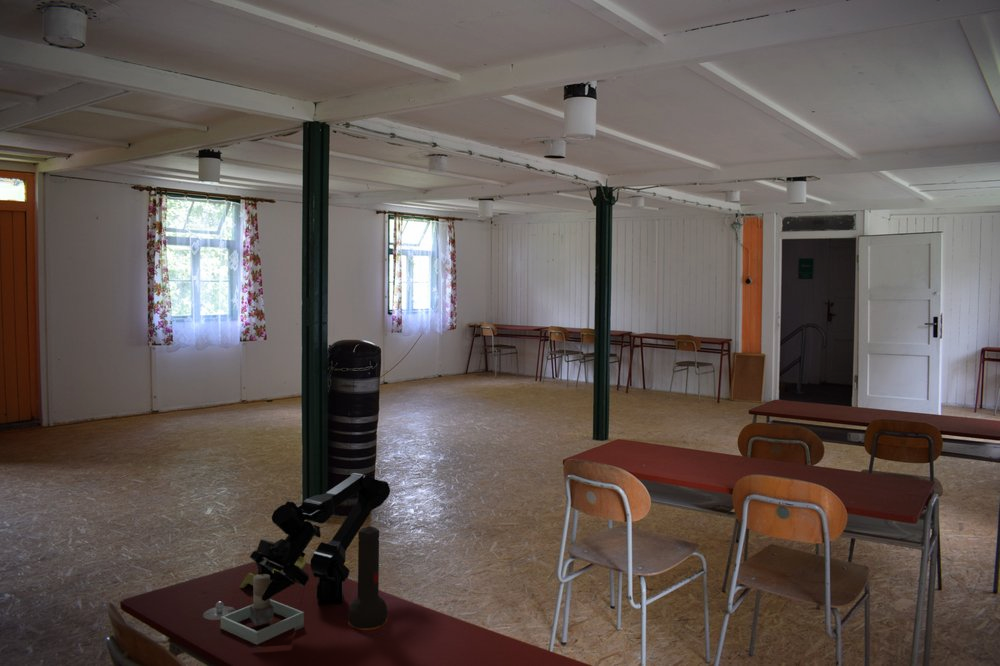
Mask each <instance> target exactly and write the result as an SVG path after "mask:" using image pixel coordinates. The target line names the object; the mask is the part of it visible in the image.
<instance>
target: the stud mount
mask: <svg viewBox="0 0 1000 666" xmlns="http://www.w3.org/2000/svg"><path fill="white" fill-rule="evenodd" d="M235 611H237V610H236V608H234V607H233V606H226V605H224V602H223V601H221V600H220V601H217V602H216V603H215V607H211V608H209V609H207V610H205V611H204V612H203V614H202V617H203V618H205V619H206V620H210V621H218V620H220V621H221V617H222V616H224V615H227V614H229V613H232V612H235Z"/></svg>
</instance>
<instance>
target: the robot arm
mask: <svg viewBox="0 0 1000 666" xmlns="http://www.w3.org/2000/svg"><path fill="white" fill-rule="evenodd" d="M390 492H391V488H390V485H389V482H387V481H385V480H380V479H376V478H374V477H372V476H370V475H368V474H367V473H360V472H353V473H351V474H350V476H349V477H347V478H345V480H343V481H342V482H339V484H337V485H336V486H333V488H331V489H329V490H328V491H326V492H324V493H322V494H316V495H313V496H310V497H308V498H306V499H305V500H303V501H302V503H300V504H299V505H297V504H296V503H295V502H294V501H292V500H291V501H290V500H287V501H286V503H284V504H282V505H280V506H278V507H277V508H276V509H275V510H274V511H273V513H272V515H271V520H272V523H273V524H274V525H275V526H276V527H277V528H278V529H280V530H281V531H282V532H283V533H284V534H286V535H287V536H286V537H285V539H283V538H281V539H279V540H276V541H275V542H274V541H270V540H266V539H260V541H259V543H258V546H257V547H256V550H255V549H254V550H253V551H252V552H251V554H250V556H249V558H250V559H251V560H252V561H254V562H255V564H256V566H257V570H258V572H257V574H258V575H260V574H268V575H270V582H271V583H270V585H269V586H268V588H267V590H266V591H265V593H264V595H263V597H262V600H263V601H266V600H267V599H269V598H270V599H271V598H272V597H273V596H275V595H276V594H278V593H279V592H282V591H283V590H285V589H287V588H289V587H290V586H294V585H295V583H294V581H296V584H297V585H300V586H302V587H305V586H306V584H307V583H308V581H309V574H308V573H307V572H306V571H304V570H303V568H302V569H301V568H300V567H298V566H296V565H294V564H295V563H296V561H297V560H298V559H299V557H300V556H301V557H306V553H305V552H304V551H305V550H306V548H307V547H308V545H309V544H310V543H311V541H312V539H313V538H314V537H316V538H321V535H322V534H321V527H320V526H319V525H316V524H313V523H317V524H324V523H326V522H327V521H328V520H330V518H331V517H332V516H333V515H334V514H335V510H336V509H337V507H338V506H340V505H341V504H342V503H344V502H345V501H347V500H348V499H350V498H352V496H354V495H355V494H357V502H356V503H355V505H354V506H353V508H352V509H351V511H349V514H348V515H347V516H346V518H345V520H344V521H343V522H342V524H341V525H340V527H339V528H338V530H337V531H336V533H335V534H334V536H333V537H332V539H331V540H330V541H329V542H323V541H321V542H320V543H319V544H318V546H317V547H316V549H315V551H314V552H312V557H311V559H310V561H309V562H310V563H309V564H310V569H311V571H312V574H313V577H314V578H319V579H318V581H317V584H316V600H317V601H318V602H317V603H318V605H330V604H342V603H343V601H344V592H343V590H344V588H343V585H344V584H343V583H344V582H345V581H346V580H347V579H348V578H349V576H350V569H349V568H348V567H347V566H346V565H345V562H346V552H347V550H348V548H349V546H350V545H351V543H352V542H353V540H354V538H355V537H356V536H357V534H358V533H359V531H360V530H361V529H362V527H363V525H364V523H365V522H366V520H367V519H368V518H369V516H370V514H371V512H373V510H374V509H377V508H378V507H380V506H382V505H383V504H384V502H385V501H386V500H387V499H388V498H389V496H390V494H391V493H390ZM312 522H313V523H312ZM273 569H276V570H278V571H280V572H278V571H276V570H274V573H272V571H273ZM251 595H252V596H253V590H252V592H251Z"/></svg>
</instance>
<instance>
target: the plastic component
mask: <svg viewBox="0 0 1000 666" xmlns="http://www.w3.org/2000/svg"><path fill="white" fill-rule="evenodd" d="M306 562H307V559H306V556H304V557H301V556H300V557H299V559H298V560H297V561H296V563H295V564H294V565H296V566H298V567H300V568H301V569H302V570H303V568H304V567H305V566H306V564H307V563H306ZM274 570H276V569H273V571H272V573H274ZM276 571H278V570H276ZM278 572H280V571H278ZM256 575H258V573H257V574H254V573H252V572H249V573H247V574H246V575H245V577H244V578H243V581H242V582H241V584H240V585H239V588H240V589H245V588H246V587H248V586H250V585H251V586H252V587H253V578H254V576H256ZM270 583H271V582H270Z"/></svg>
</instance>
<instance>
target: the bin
mask: <svg viewBox="0 0 1000 666" xmlns="http://www.w3.org/2000/svg"><path fill="white" fill-rule="evenodd" d="M270 604H271V605H272V606H273V607H274V614H276V615H279V616H282V617H284V618H285V619H282V620H279V621H278V622H276V623H273V624H271V625H268V626H266V627H264V628H261V629H259V630H255V629H253V628H250V627H248V626H247V625H244V624H242V623H240V622H242V621H244V620H247V619H249V618H250V605H247V606H245V607H243V608H240V609H237V610H236V611H235V612H232V613H229V614H227V615H224V616H222V617H221V619H220V629H221V630H224V631H226V632H228V633H231V634H232V635H235V636H237V637H239V638H241V639H243V640H245V641H248V642H250V643H252V644H255V645H256V646H253V648H255V649H259V648H261V647H262V646H261V645H260V646H257V645H259V644H261V643H263V642H267V640H270V639H273V638H275V637H276V636H278V635H281V634H284V633H285V632H287V631H290V630H292V629H294V630H293V632H296V631H298V630H300V629H302V628H304V627H305V611H302V610H300V609H297V608H294V607H291V606H290V605H286V604H284V603H281V602H278V601H276V600H274V599H271V598H270ZM251 605H253V603H252V604H251Z"/></svg>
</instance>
